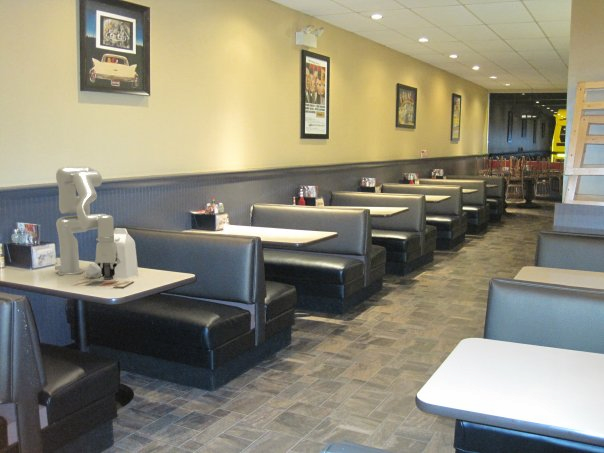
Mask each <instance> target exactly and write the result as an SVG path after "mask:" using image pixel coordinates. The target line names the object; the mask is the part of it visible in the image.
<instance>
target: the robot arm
mask: <svg viewBox="0 0 604 453" xmlns="http://www.w3.org/2000/svg"><path fill="white" fill-rule="evenodd" d="M55 179H56V183H57V188H58V208H59V212H60V213H61V214H62V215H67V216H62V217H60V218H59V217H58V219H57V220H56V222H55V225H56V231H57V235H58V243H59V258H60V259H59V260H60V262H59V263H60V265H55V266H54V270H57V271H58V272H57V274H58V275H60V276H65V275H80V274H82V273H83V269H80V256H79V241H78V238H76V237H75V235H74V234H78V233H85V232H88V231H89V230H97V235H98V236H97V237H95V240H96V241H98V242H97V243H96V246H95V247H96V248H95V260H94V262H93V264H97V265H98V266H99V267H100V268H101V272H102V275H101V276H102V278H103V277H105V276H104V263H110V266H111V269H110V277H113V276H114V275H115V267H116V266H117V265H118V264H120V263H121V261H120V260H119V258H118V251H117V246H116V242H114V230H115V228H114V225H115V224H114V217H113V216H112V215H110V214H106V213H93V214H91V205H90V204H91V203H93V202H94V201H95V200H97V198H98V194H97V191H96V189H95V187H101V185H102V183H103V178H102V175H101V173H100V172H99V171H98V170H97V169H94V168H92V167H91V166H90V167H89V166H65V167H63V166H62V167H60V168H58V169H57V170H56V174H55ZM75 214H76V215H75ZM116 261H117V262H116ZM115 262H116V263H115ZM113 278H114V277H113Z"/></svg>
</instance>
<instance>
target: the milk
mask: <svg viewBox="0 0 604 453" xmlns="http://www.w3.org/2000/svg"><path fill="white" fill-rule="evenodd" d="M114 242H116V246H117V251H118V258H119V260H120V261H121V263H120V264H118V265H117V266H116V267H115V275H114V276H113V278H121V279H122V278H123V279H127V278H130V277H134V276H135V277H137V276H139V267H138V260H137V259H138V256H137V248H136V247H137V246H136V242H135V239H133V237H132V236H131V235H130V234H129V233H128V230H127V228H118V227H116V228H114ZM116 262H117V261H116ZM116 262H115V263H116Z"/></svg>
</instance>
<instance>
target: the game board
mask: <svg viewBox="0 0 604 453" xmlns="http://www.w3.org/2000/svg"><path fill="white" fill-rule="evenodd" d="M134 283H135V281H133V280H132V281H130V280H128V281H127V280H126V281H125V280H124V281H123V280H122V281H121V280H80V281H76V282H75V283H73V284H72V286H77V287H78V286H79V287H80V286H85V287H87V286H88V287H89V286H90V287H98V286H99V287H112V289H125V288H127V287H129V286H130V285H132V284H134Z"/></svg>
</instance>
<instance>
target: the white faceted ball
mask: <svg viewBox="0 0 604 453" xmlns="http://www.w3.org/2000/svg"><path fill="white" fill-rule="evenodd" d="M84 272H85V274H86V277H87V279H100V278H101V276H102V272H101V268H100V267H99V266H98V265H97V264H95V263H89V265H88V266H87V267H86V268H85V270H84Z"/></svg>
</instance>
